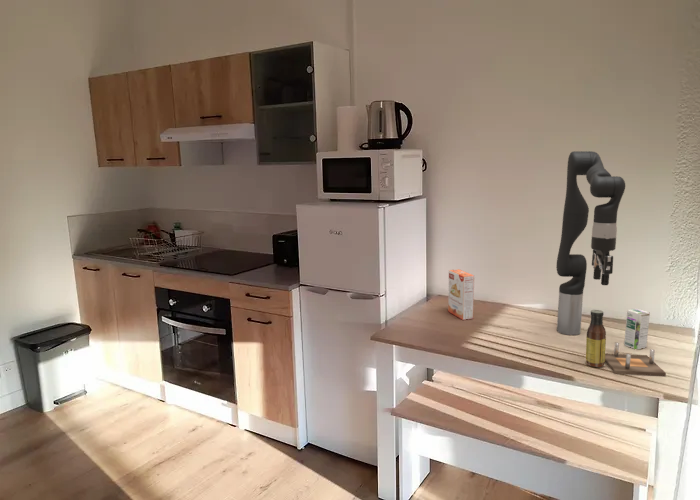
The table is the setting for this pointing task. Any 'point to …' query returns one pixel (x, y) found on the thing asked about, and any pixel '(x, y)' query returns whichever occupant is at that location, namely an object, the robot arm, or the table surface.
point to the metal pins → (628, 356)
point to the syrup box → (636, 328)
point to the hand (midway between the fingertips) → (600, 282)
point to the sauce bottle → (596, 340)
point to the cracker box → (461, 294)
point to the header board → (633, 365)
